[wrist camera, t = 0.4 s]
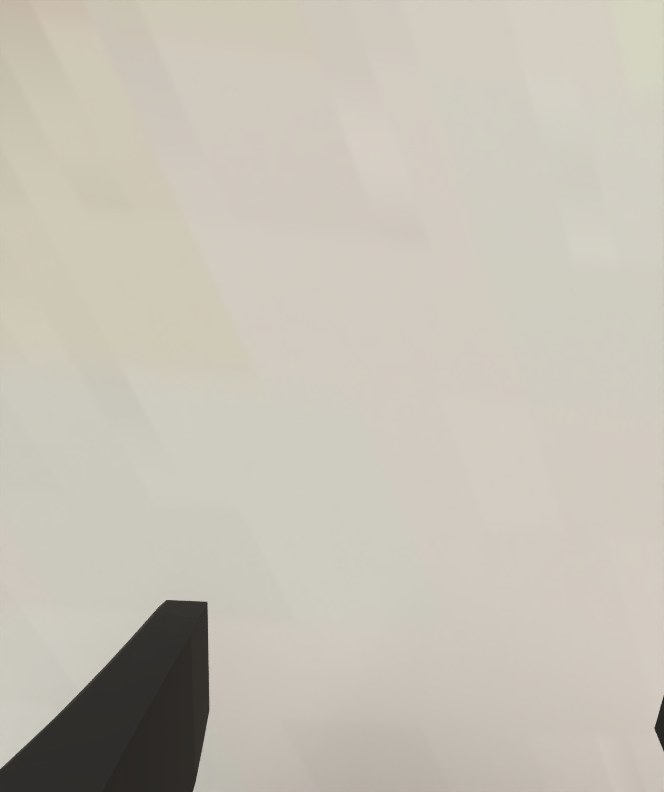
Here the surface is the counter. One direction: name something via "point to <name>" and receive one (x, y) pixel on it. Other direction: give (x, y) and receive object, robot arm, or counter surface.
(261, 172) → the counter surface
